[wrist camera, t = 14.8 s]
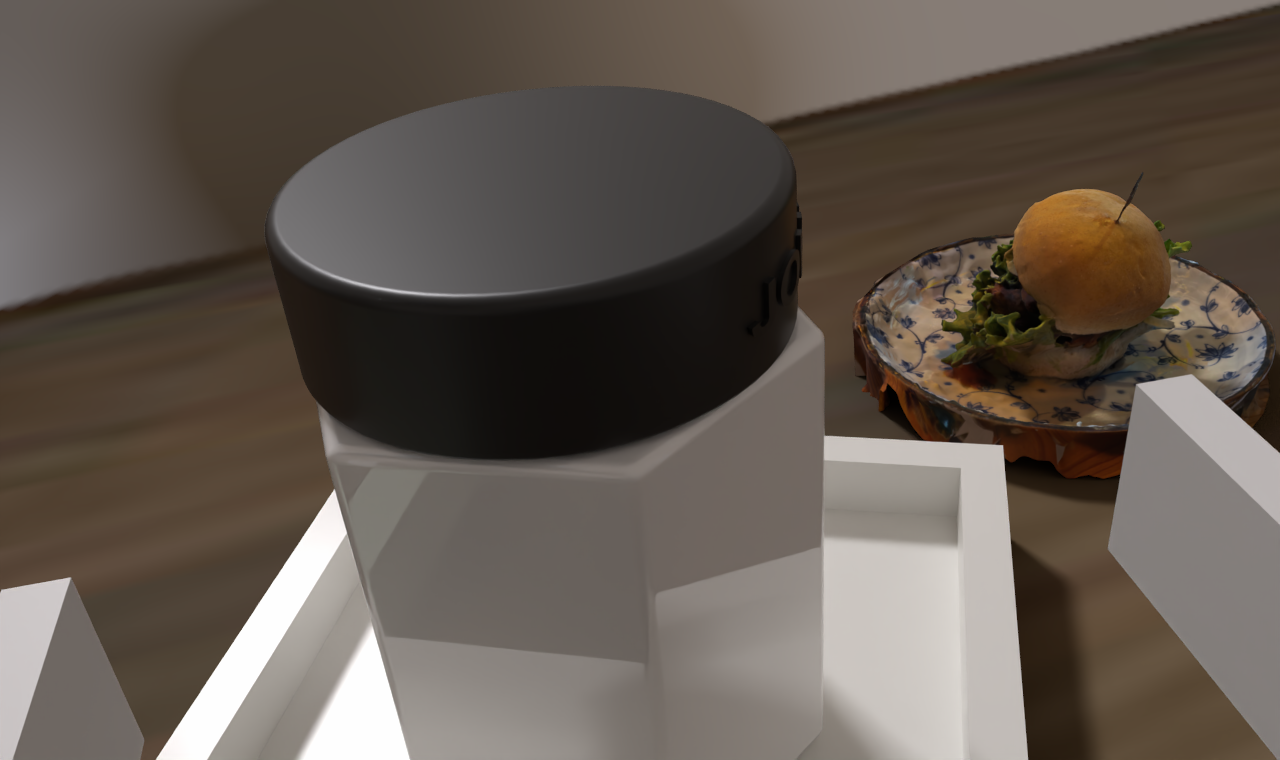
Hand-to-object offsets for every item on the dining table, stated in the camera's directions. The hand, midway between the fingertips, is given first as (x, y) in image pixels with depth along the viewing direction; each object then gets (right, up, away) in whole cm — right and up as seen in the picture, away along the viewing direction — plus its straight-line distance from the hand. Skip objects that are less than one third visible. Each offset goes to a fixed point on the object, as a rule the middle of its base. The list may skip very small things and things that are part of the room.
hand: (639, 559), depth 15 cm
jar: (-1, -5, +10) cm, 11 cm away
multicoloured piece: (+13, +2, +22) cm, 25 cm away
